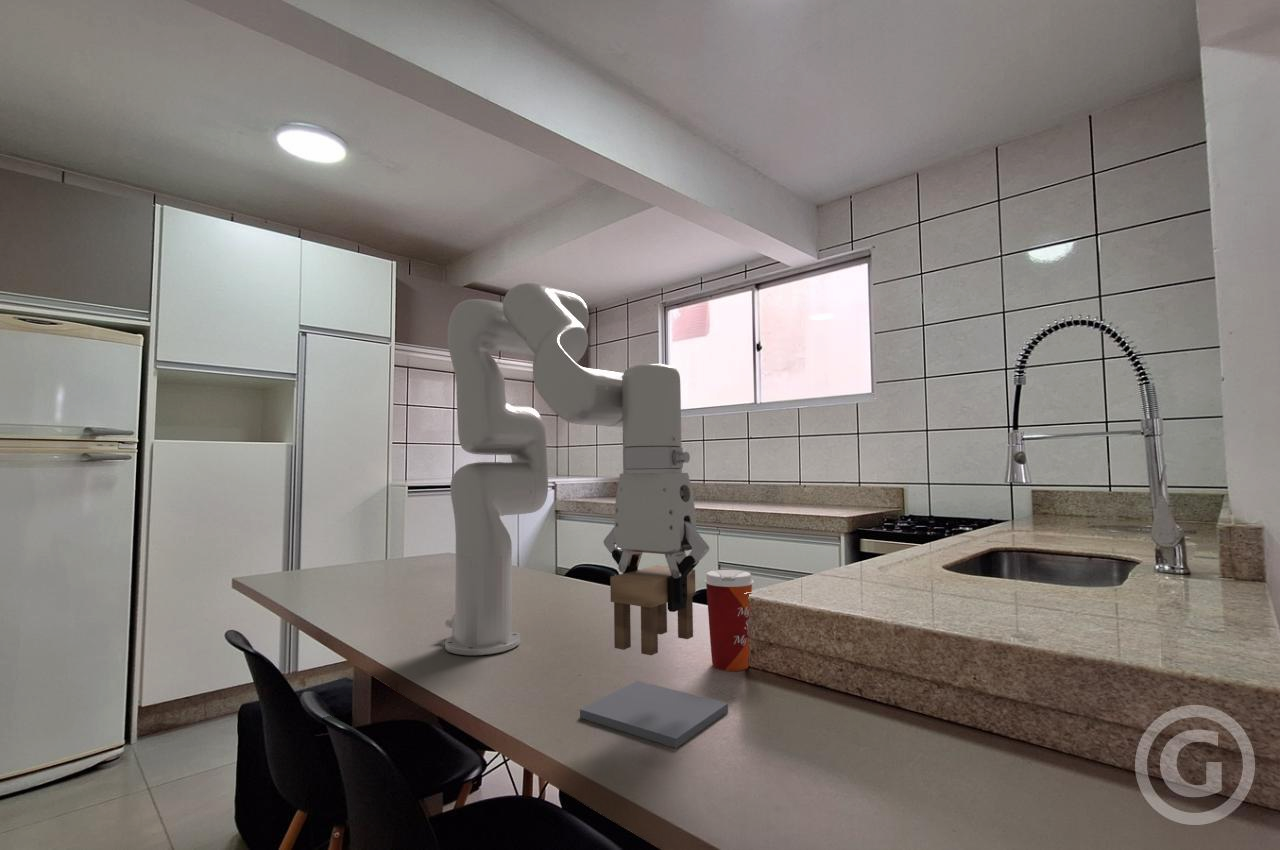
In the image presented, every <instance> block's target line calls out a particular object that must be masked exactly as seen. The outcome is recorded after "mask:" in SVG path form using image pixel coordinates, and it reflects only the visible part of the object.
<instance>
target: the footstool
mask: <svg viewBox="0 0 1280 850" xmlns="http://www.w3.org/2000/svg"><path fill="white" fill-rule="evenodd" d="M670 577H672V575H671V572H670V569H669V566H665V565H654V566H649V567H646V568H641V569H638V570H636V571H632V572H628V573H624V574H623V573H620V574H615V575H611V576H610V579H609V580H610V582H609V583H610V602H611V603H613V604H614V605H613V614H614V616H613V618H614V619H613V623H614V624H613V625H614V628H613V629H614V633H613V634H614V641H613V642H614V649H618V650H622V651H624V650H628V649H629V648H630V649H631V647H632V643H631V639H632V638H631V637H632V635H631V633H632V632H631V606H636V607H640V651H641V652H640V653H641V654H642V655H646V656H653V655H654V656H655V655H656V654H658V653H659V637H658V636H659V635H664V634H666V633H668V614H667V613H668V578H670ZM693 594H696V569H695V568H693V570H692V571H691V574H690V575H687V602H686V607H685V608H683V609H681V610H678V611H677V638H678V639H683V640H689V639H691V638H693V637H694V619H693V617H694V616H693V615H694V614H693V613H694V612H693V611H694V610H693V609H694V608H693V604H694V603H693Z"/></svg>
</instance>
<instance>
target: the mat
mask: <svg viewBox="0 0 1280 850" xmlns="http://www.w3.org/2000/svg"><path fill="white" fill-rule="evenodd" d="M727 713H729V703H728V702H724V701H720V700H716V699H711V698H709V697H708V698H707V697H704V696H700V695H696V694H692V693H689V692H684V691H680V690H676V689H672V688H668V687H665V686H660V685H656V684H652V683H648V682H644V681H640V680H636V681H634V682H632V683H630V684H628V685H627V686H624V687H622V688H620V689H618V690H617V691H615V692H612V693H610V694H608V695H606V696H604V697H602V698H600V699H598V700H596V701H593V702H592V703H589V704H588V705H586V706H584V707H581V708H579V718H580V719H582V720H585V721H590V722H593V723H596V724H599V725H602V726H606V727H609V728H611V729H614V730H617V731H621V732H623V733H627V734H630V735H634V736H637V737H639V738H643V739H646V740H649V741H653V742H655V743H660V744H661V745H662V744H663V745H666V746H668V747H671V748H674V749H677V748H679V747H680V746H681V745H683V744H685V743H686V742H688V741H689V740H690V739H691V738H693V737H694V736H696V735H697V734H698V733H700V732H701V731H704V729H705V728H707V727H708V726H710V725H712V724H713V723H714V722H715V721H717V720H718V719H720V718H721V717H722V716H724V715H726V714H727Z"/></svg>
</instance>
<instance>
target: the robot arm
mask: <svg viewBox="0 0 1280 850" xmlns="http://www.w3.org/2000/svg"><path fill="white" fill-rule="evenodd" d="M589 321H590V314H589V309H588V306H587V304H586V303H585V301H584V300H583V299H582V298H581V297H580V296H578V295H577V294H575V293H574V292H570V291H566V290H562V289H558V288H554V287H550V286H547V285H542V284H539V283H533V282H530V283H529V282H527V283H525V282H524V283H520V284H517V285H514V286H513V287H512V288H510V289H509V290H508V291H507V292H506V294H505V296H504V298H503V302H501V301H495V300H490V299H484V298H483V299H482V298H470V299H465V300H463V301H460V302H459V303H457V305H456V306H455V307H454V308H453V310H452V312H451V314H450V317H449V321H448V325H447V346H448V351H449V356H450V359H451V363H452V367H453V371H454V375H455V384H456V388H455V389H456V413H457V414H456V415H457V417H456V418H457V419H456V420H457V434H458V441H459V444H460V446H461V448H462V450H464V451H465V452H466V453H469V454H472V455H473V454H474V455H478V456H479V455H480V456H481V455H482V456H483V455H484V456H485V455H487V456H510V457H511V462H502V461H496V462H495V461H481V462H472V463H467V464H465V465H463V466H460V468H458V469H457V470H456V471H455V472H454V473H453V475H452V478H451V482H450V498H451V504H452V509H453V515H454V526H455V527H454V528H455V529H454V531H455V573H454V574H455V575H454V576H455V579H454V580H455V581H454V582H455V583H454V584H455V585H454V615H453V616H452V617H451V619H450V618H449V619H447V620H446V621H445V623H444V624H445V627H446V628H449V629H451V636H449V637H447V639H446V640H445V641H444V648H445V649H444V650H446V651H447V652H448V653H451V654H455V655H459V656H460V655H461V656H484V655H485V656H486V655H493V654H499V653H504V652H506V651H507V652H508V651H509V650H512V649H515V648H516V647H518V645H520V643H521V635H520V633H518V632H516V631H513V630H512V583H513V582H512V578H513V577H512V574H513V573H512V570H513V569H512V567H513V565H512V564H513V563H512V561H513V560H512V559H513V557H512V553H513V552H512V551H513V548H512V547H513V546H512V539H511V535H510V533H509V531H508V529H507V527H506V526H505V524H504V523H503V522H502V520H501V517H504V516H511V515H512V516H514V515H523V514H524V515H527V514H534V513H536V512H538V511H540V510H541V508H543V507H544V505H545V503H546V501H547V499H548V493H549V473H548V472H549V471H548V452H547V450H548V449H547V433H546V427H545V423H544V421H543V418H542V416H541V414H540V413H539V411H538V410H536V409H535V408H533V407H531V406H529V405H526V404H525V405H524V404H515V403H514V404H511V403H508V400H507V398H506V382H505V381H506V380H505V377H504V374H503V372H502V369H501V368H500V366H499V364H498V363H497V361H496V360H495V358H493V356H492V355H491V354H490V350H493V351H498V352H505V353H511V354H517V355H519V354H520V355H522V356H523V355H524V356H525V355H526V356H534V357H533V363H532V376H533V382H534V385H535V387H534V388H535V389H536V391H537V393H538V394H539V396H540V397H541V398H542V400H544V402H545V403H546V404H547V406H549V408H550V409H551V411H553V412H554V413H555V415H556V416H558V417H559V418H560V419H562V420H564V421H566V422H568V423H571V424H575V425H586V426H605V427H613V428H614V427H615V428H617V427H618V428H622V468H623V469H622V473H620V474H619V477H618V482H617V487H616V494H615V495H616V496H615V506H614V524H613V525H614V526H613V528H612V529H611V530H610V531H609V532H608V534H607V536H606V537H605V538H604V540H603V544H604V546H605V547H606V549H607V551H608V552H609V554H611V556H612V558H613V560H614V561H615V563H616V564H617V565H618V568H617V569H618V571H619V573H621V574H624V573H628V572H632V571H636V570H639V569H638V568H639V565H640V562H641V560H642V559H641V558H642V555H643V553H644V554H645V553H646V554H647V553H648V554H659V555H664V556H665V560H666V563H667V567H669V569H670V572H671V575H672V577H670V578H668V602H667V611H669V612H672V613H675V612H678V610H681V609H683V608H685V607H686V602H687V575H690V574H691V571H692V570H693V569H695V567H696V566H697V565H698V564H699V563H700V561H701V560H702V559H703V558H704V557H705V555H707V553H708V552H709V551H710V546H709V545H708V544H707V542H706V541H705V540H704V538H703V537H702V536H701V535H700V533H699V532H698V531H697V529H698V528H697V516H696V508H695V507H696V506H695V499H694V498H695V497H694V494H693V489H692V483H691V480H690V475H689V473H688V472H683V468H684V467H683V465H684V463H689V462H690V459H691V458H690V457H691V456H690V453H689V452H688V451H683V447H682V399H681V396H682V395H681V392H682V391H681V390H682V389H681V375H680V373H679V371H678V369H677V368H675V367H674V366H671V365H668V364H663V363H643V364H636V365H632V366H630V367H628V368H627V369H625V371H624V372H617V371H612V370H608V369H607V370H606V369H605V370H604V369H599V368H591V367H583V366H581V365H579V364H578V362H579V361H580V360H581V358H582V357H583V356H584V355H585V353H586V350H587V348H588V346H589V334H588V332H587V330H588V326H589V323H590V322H589ZM686 551H687V552H688V551H690V552H689V554H688V555H687V553H686Z"/></svg>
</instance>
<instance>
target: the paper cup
mask: <svg viewBox="0 0 1280 850" xmlns="http://www.w3.org/2000/svg"><path fill="white" fill-rule="evenodd" d="M703 583H705V587H706V599H707V601H706V602H707V614H708V625H709V627H708V628H709V639H710V641H709V643H710V652H711V653H710V655H711V664H712V667H713V668H714V669H716V670H720V671H723V672H740V671H745V670H747V669H749V666H748V656H749V657H750V652H749V638H748V635H747V632H748V620H749V619H748V618H749V611H750V605H749V602H748V597H749V594H753V593H747V594H744V593H746V592H753V591H752V590H753V585H754V584H755V581H754V580H753V577H752V575H751V573H750V572H748V571H744V570H738V569H737V570H736V569H719V570H718V569H717V570H711V571H708V572H707V573H706V577H705V578H704V582H703Z"/></svg>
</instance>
